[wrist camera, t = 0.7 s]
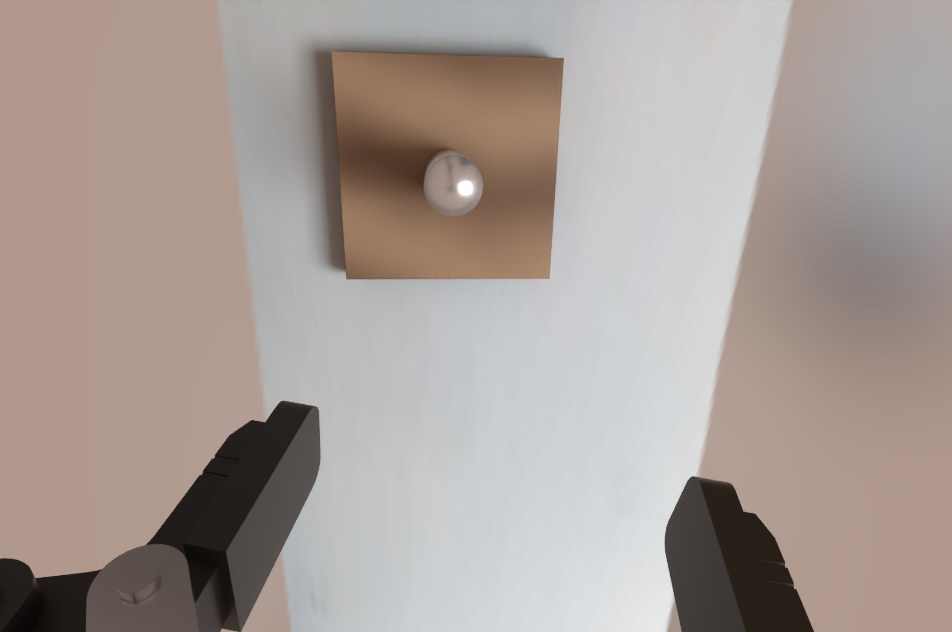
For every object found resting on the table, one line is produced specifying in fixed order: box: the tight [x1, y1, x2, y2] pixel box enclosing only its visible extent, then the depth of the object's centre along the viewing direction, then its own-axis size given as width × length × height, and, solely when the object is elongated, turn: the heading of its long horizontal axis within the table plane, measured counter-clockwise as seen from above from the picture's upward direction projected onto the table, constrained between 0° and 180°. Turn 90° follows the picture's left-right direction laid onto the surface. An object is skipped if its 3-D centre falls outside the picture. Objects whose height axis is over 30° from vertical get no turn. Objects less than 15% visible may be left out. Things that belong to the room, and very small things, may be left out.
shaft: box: [424, 150, 483, 216], centre depth 22 cm, size 2×2×5 cm
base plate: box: [332, 52, 564, 279], centre depth 25 cm, size 10×10×1 cm
